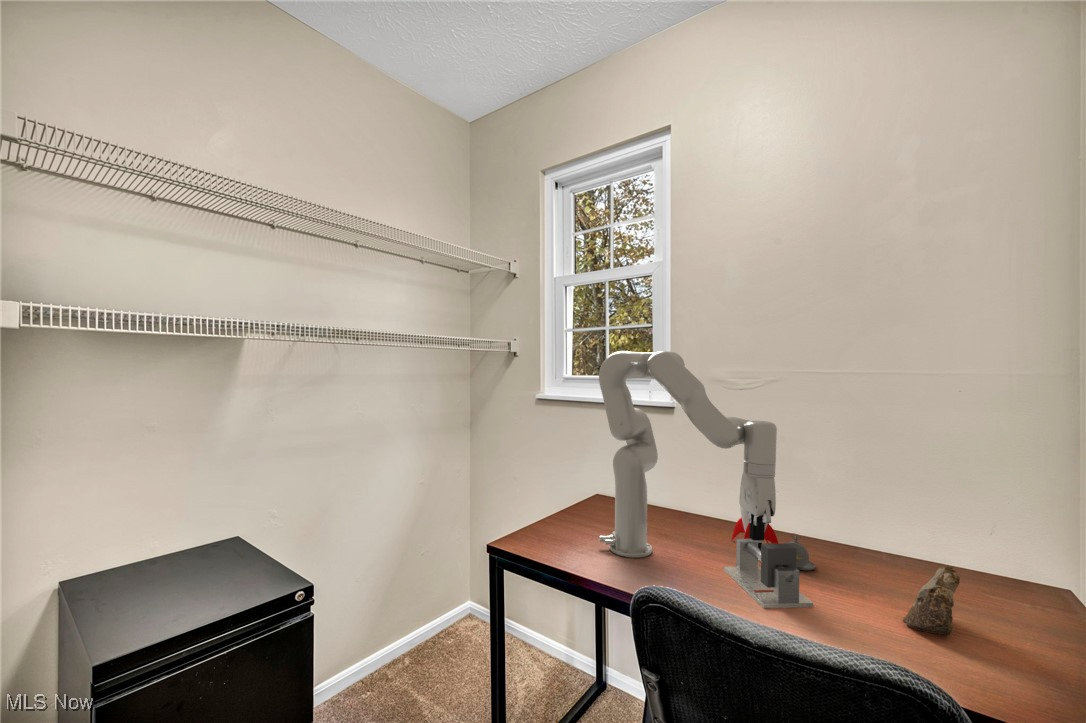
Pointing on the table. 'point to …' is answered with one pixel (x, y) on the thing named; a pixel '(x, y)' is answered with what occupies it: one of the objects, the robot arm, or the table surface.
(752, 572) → the machine vise
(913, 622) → the rock
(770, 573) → the collar
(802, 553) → the pocket watch
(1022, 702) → the table surface
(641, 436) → the robot arm
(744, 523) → the rocket
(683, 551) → the table surface
